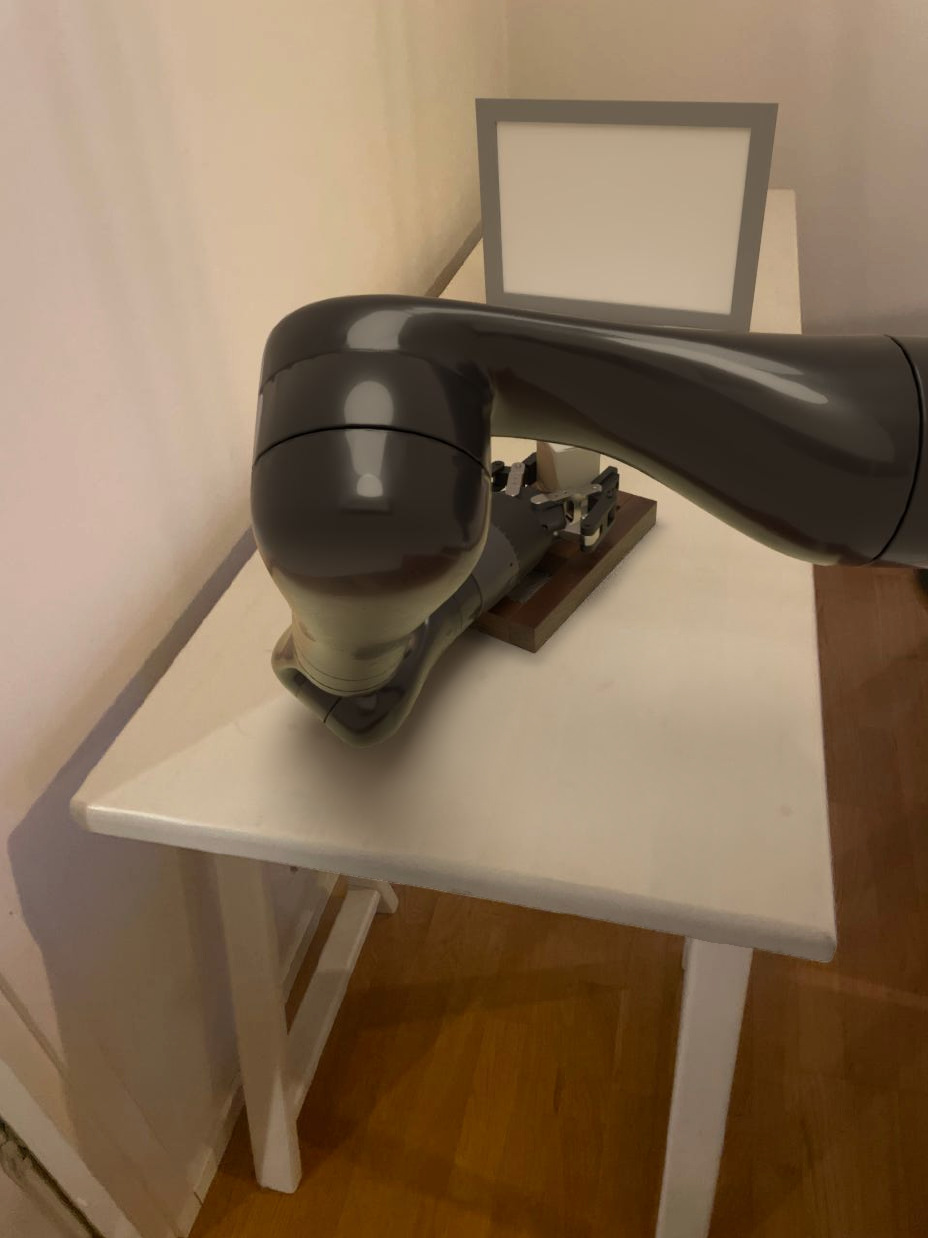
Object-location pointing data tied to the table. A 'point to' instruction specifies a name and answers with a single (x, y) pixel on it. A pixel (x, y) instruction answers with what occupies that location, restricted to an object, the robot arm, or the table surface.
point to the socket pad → (568, 578)
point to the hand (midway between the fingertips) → (580, 466)
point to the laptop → (625, 207)
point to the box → (565, 468)
